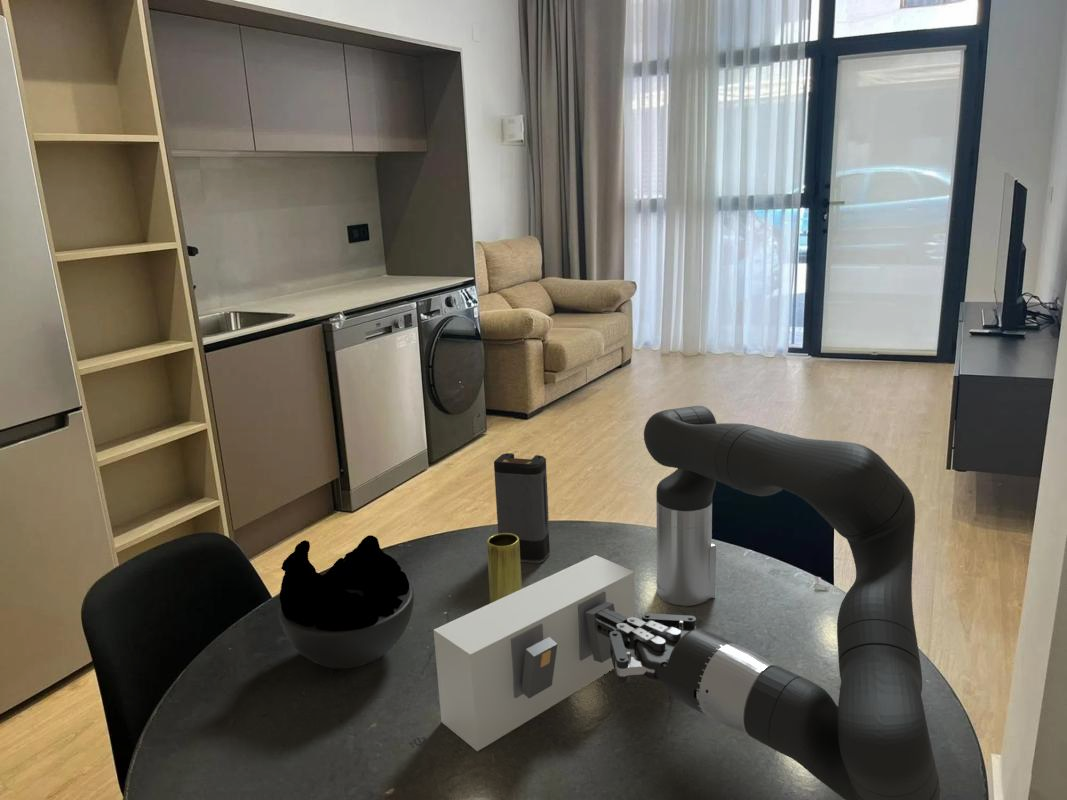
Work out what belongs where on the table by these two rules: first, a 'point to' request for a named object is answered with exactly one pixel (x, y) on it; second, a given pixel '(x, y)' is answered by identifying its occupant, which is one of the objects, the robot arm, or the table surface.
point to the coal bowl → (345, 605)
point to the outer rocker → (539, 667)
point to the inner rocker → (599, 634)
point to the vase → (503, 565)
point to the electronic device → (523, 504)
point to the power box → (524, 649)
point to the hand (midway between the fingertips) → (599, 618)
